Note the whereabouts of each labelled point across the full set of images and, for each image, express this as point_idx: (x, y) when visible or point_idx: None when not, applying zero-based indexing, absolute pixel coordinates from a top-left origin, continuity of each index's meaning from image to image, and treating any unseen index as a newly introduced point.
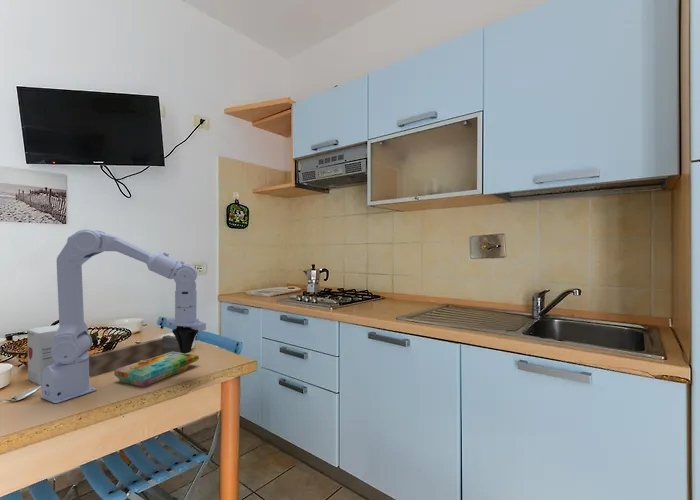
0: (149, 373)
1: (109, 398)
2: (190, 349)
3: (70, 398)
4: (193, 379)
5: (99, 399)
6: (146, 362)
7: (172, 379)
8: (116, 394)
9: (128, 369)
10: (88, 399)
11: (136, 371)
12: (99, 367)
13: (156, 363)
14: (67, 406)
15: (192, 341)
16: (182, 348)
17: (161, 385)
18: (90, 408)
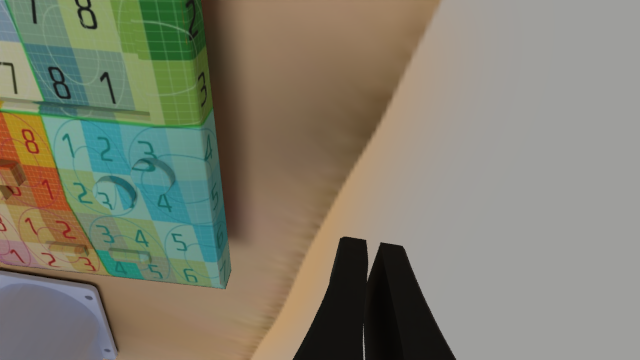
0: (220, 265)
1: (215, 311)
2: (407, 269)
3: (111, 335)
4: (400, 81)
5: (193, 319)
6: (17, 174)
7: (266, 119)
8: (200, 289)
9: (62, 257)
10: (160, 324)
11: (136, 269)
12: None
13: (110, 182)
14: (164, 354)
15: (442, 352)
16: (368, 340)
17: (286, 195)
18: (240, 354)
